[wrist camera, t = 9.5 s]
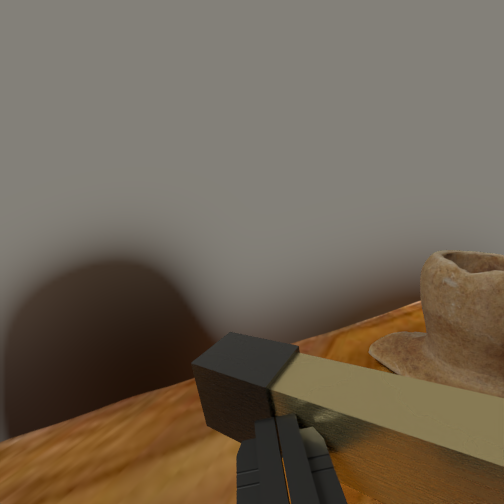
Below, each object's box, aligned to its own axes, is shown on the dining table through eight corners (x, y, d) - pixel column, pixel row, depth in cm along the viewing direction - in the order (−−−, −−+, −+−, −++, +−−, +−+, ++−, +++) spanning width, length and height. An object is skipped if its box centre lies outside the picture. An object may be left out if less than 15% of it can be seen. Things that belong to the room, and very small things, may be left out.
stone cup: (585, 403, 26) (600, 250, 23) (503, 463, 22) (507, 290, 19) (432, 335, 40) (428, 234, 37) (367, 364, 36) (356, 256, 33)
